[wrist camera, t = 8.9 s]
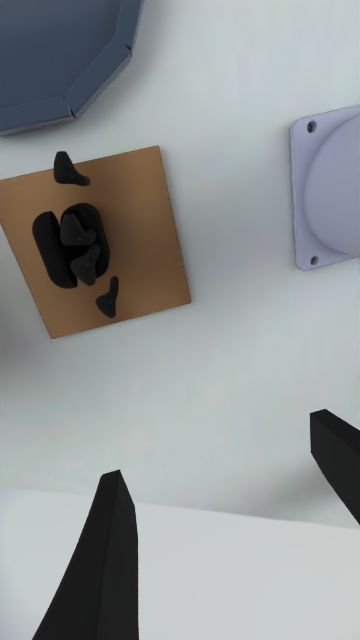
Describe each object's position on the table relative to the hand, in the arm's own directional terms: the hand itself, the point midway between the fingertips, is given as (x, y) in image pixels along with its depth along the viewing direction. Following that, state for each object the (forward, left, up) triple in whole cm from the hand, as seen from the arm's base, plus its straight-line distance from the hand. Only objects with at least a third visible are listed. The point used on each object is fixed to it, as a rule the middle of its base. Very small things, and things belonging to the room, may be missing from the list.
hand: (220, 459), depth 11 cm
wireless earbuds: (+3, -8, -9) cm, 13 cm away
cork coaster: (+3, -7, -9) cm, 12 cm away
